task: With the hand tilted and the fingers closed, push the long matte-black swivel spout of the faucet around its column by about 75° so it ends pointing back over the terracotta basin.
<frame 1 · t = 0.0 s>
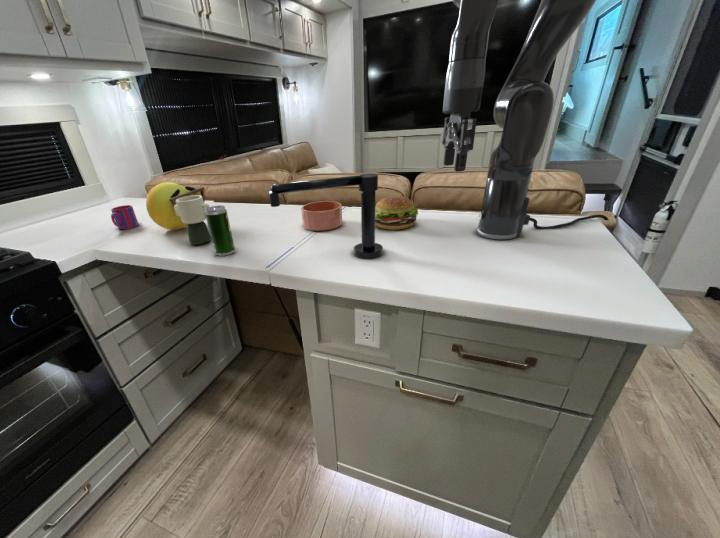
hand: (453, 167, 78), 17 cm above the worktop, tool pointing down, fingers open, 8 cm apart
faucet base: (368, 253, 81), on the worktop
food: (392, 224, 99), on the worktop
spout: (324, 189, 72), point 16 cm above the worktop, hinge at 0.0°
cup: (125, 228, 117), on the worktop
emoji: (179, 229, 111), on the worktop
basin: (322, 225, 103), on the worktop
character mug: (201, 243, 98), on the worktop
beer can: (225, 252, 89), on the worktop
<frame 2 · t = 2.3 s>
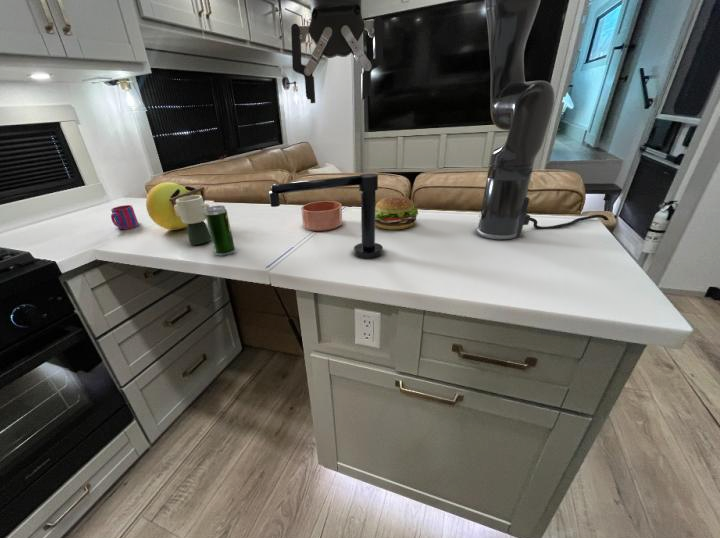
hand: (338, 101, 55), 33 cm above the worktop, tool pointing down, fingers open, 8 cm apart
nothing on the worktop moved.
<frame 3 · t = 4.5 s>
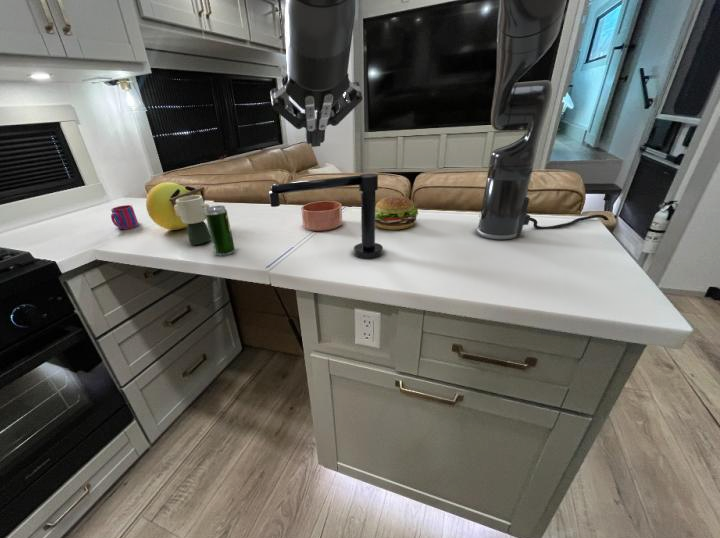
hand: (315, 142, 53), 27 cm above the worktop, tool tilted 45°, fingers closed
nothing on the worktop moved.
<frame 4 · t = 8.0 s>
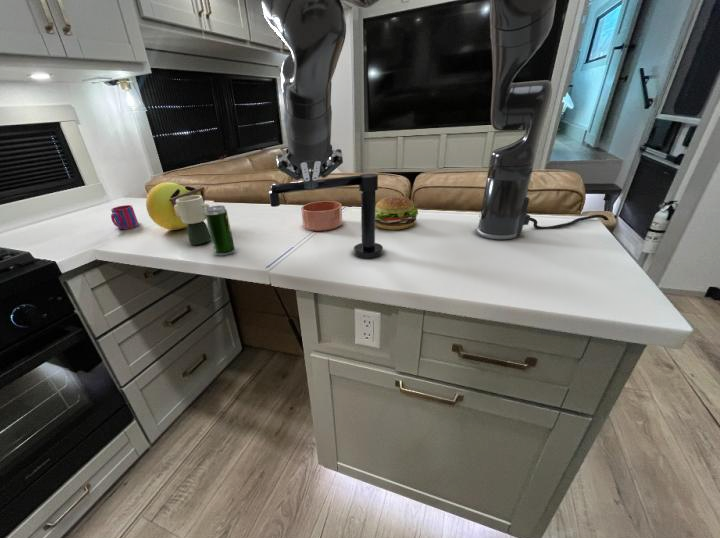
hand: (310, 186, 70), 17 cm above the worktop, tool tilted 45°, fingers closed
spout: (324, 189, 72), point 16 cm above the worktop, hinge at -0.3°, touching gripper
everything else where it was.
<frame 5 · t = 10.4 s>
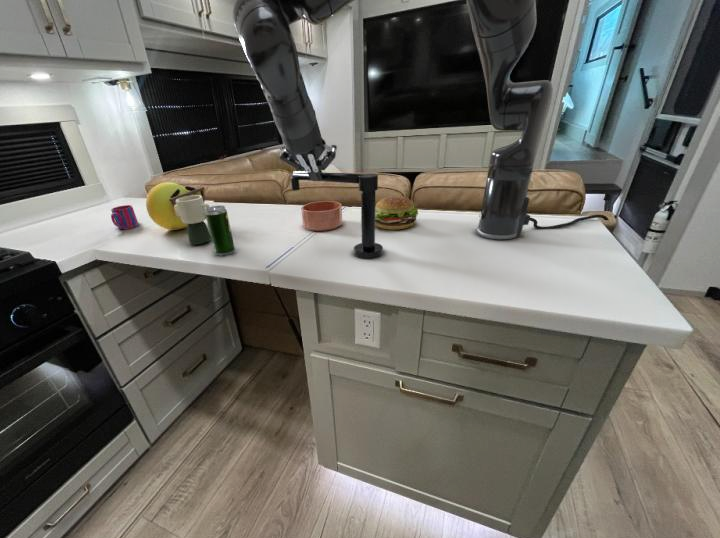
hand: (317, 178, 78), 18 cm above the worktop, tool tilted 45°, fingers closed
spout: (330, 182, 78), point 16 cm above the worktop, hinge at -42.9°, touching gripper
everything else where it was.
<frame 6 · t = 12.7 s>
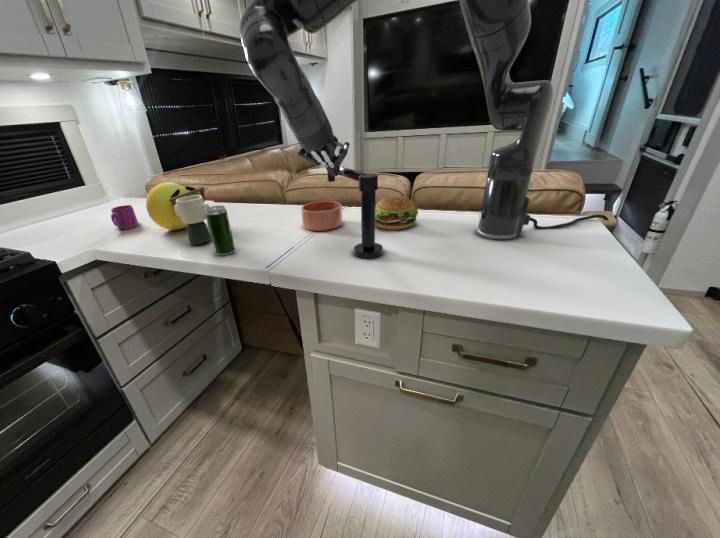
hand: (335, 173, 82), 18 cm above the worktop, tool tilted 45°, fingers closed
spout: (348, 178, 81), point 16 cm above the worktop, hinge at -76.3°
everything else where it was.
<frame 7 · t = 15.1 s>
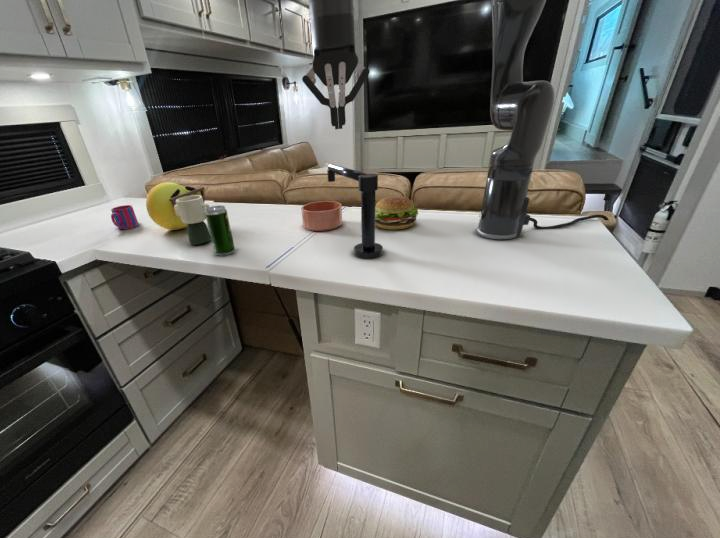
hand: (338, 128, 66), 28 cm above the worktop, tool pointing down, fingers closed
nothing on the worktop moved.
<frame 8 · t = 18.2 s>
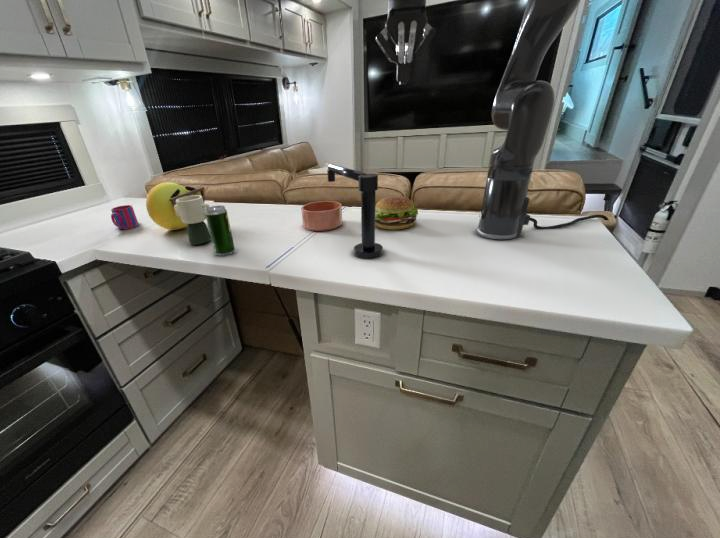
hand: (403, 84, 74), 35 cm above the worktop, tool pointing down, fingers closed
nothing on the worktop moved.
at the end: spout at -76° (first picture: +0°); spout touching nothing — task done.
